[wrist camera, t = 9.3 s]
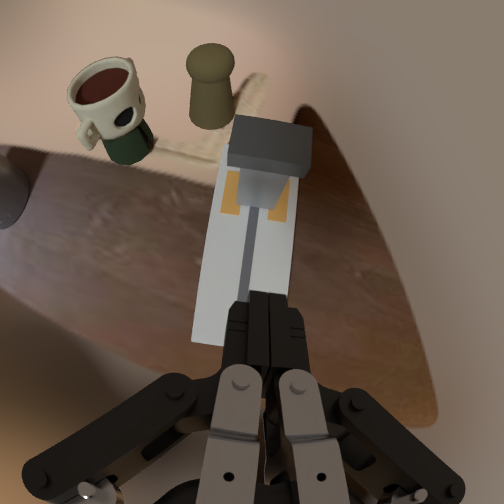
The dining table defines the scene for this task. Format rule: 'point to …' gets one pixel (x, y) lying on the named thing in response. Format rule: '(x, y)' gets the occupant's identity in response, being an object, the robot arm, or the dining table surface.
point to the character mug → (111, 109)
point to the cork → (211, 86)
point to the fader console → (241, 252)
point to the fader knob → (267, 158)
